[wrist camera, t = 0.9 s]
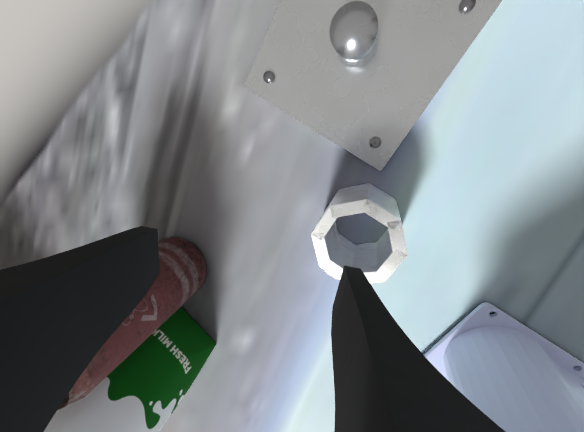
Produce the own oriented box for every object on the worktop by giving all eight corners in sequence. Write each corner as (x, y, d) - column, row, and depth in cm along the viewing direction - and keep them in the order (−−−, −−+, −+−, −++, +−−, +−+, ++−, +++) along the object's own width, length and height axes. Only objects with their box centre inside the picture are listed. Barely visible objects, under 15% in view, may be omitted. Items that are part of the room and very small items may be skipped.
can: (151, 231, 29) (-28, 317, 16) (207, 239, 27) (58, 343, 14) (158, 283, 31) (3, 398, 18) (211, 294, 29) (82, 428, 16)
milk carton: (227, 346, 31) (10, 673, 12) (182, 377, 34) (-38, 667, 16) (171, 286, 30) (-138, 535, 12) (131, 324, 34) (-154, 560, 16)
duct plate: (506, -7, 16) (543, -45, 13) (380, 170, 21) (381, 180, 17) (329, -105, 17) (316, -166, 14) (246, 87, 22) (220, 80, 18)
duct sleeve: (414, 211, 21) (425, 235, 17) (366, 270, 24) (363, 305, 19) (350, 171, 22) (344, 184, 17) (309, 233, 24) (294, 259, 20)
